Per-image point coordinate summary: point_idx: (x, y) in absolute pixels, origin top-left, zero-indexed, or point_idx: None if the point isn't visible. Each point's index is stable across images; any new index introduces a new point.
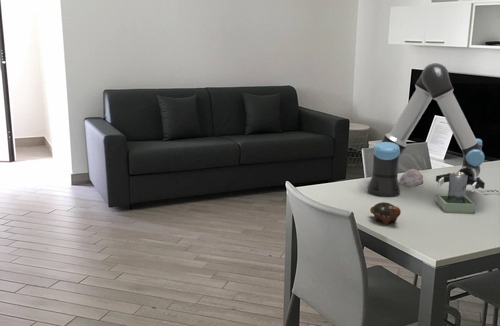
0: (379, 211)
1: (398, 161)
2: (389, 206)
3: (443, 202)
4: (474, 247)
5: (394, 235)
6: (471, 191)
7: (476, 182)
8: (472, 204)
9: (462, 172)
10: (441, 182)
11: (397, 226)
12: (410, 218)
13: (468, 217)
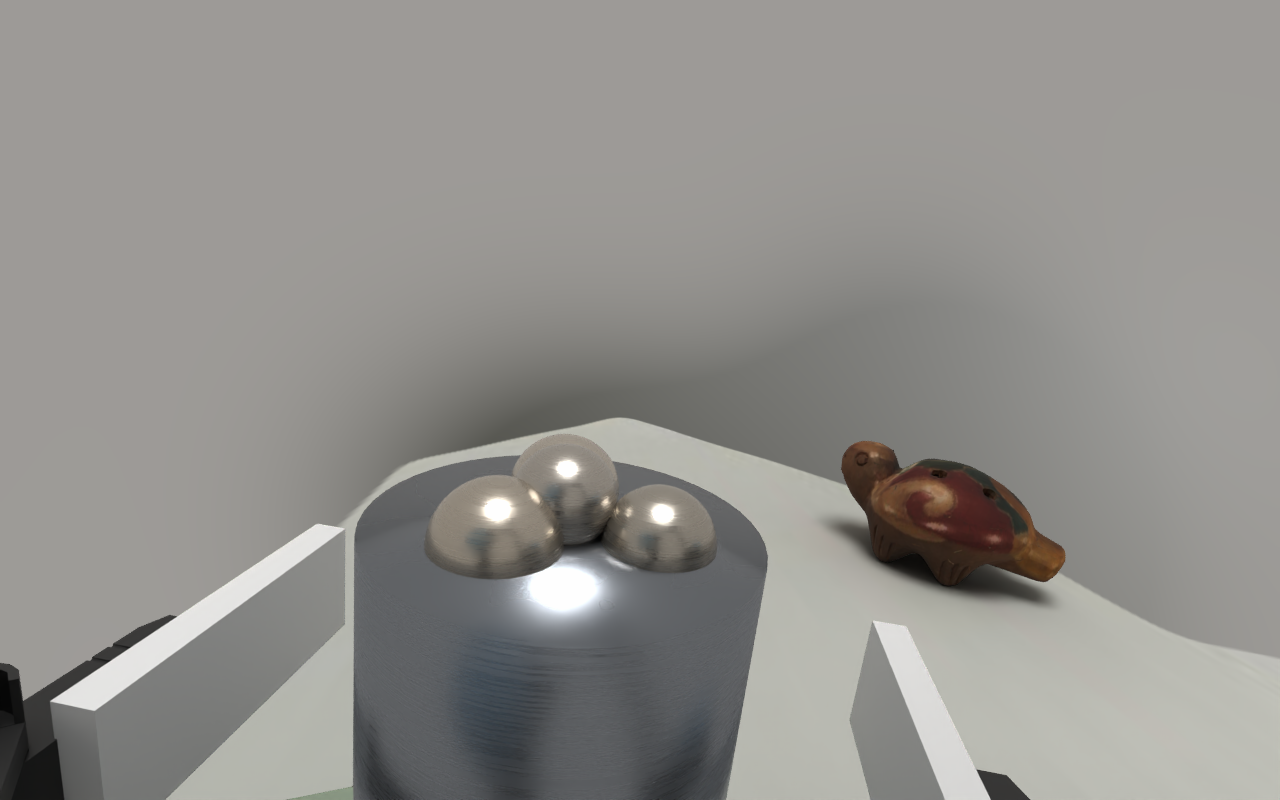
0: (939, 477)
1: None
2: (917, 462)
3: None
4: (496, 454)
5: (794, 482)
6: (343, 621)
7: (87, 680)
8: (305, 797)
9: (487, 478)
10: (884, 742)
11: (836, 533)
12: (847, 619)
13: None
